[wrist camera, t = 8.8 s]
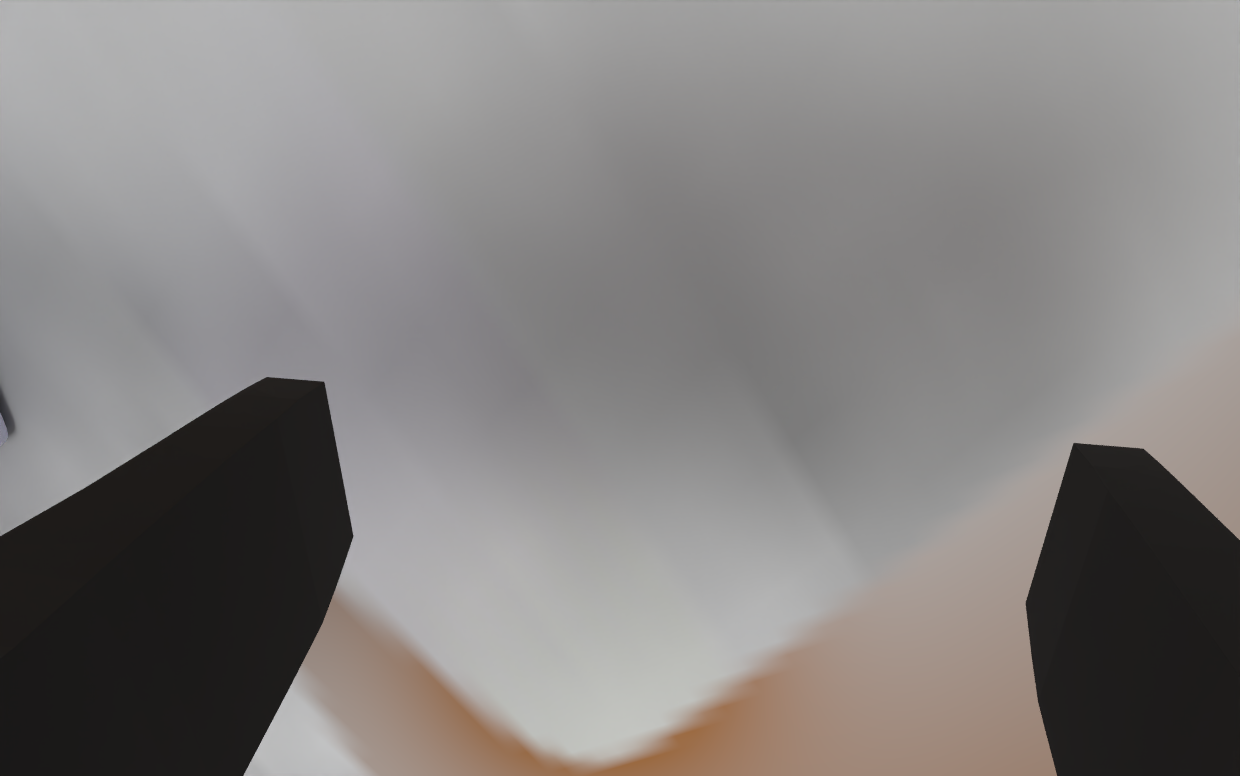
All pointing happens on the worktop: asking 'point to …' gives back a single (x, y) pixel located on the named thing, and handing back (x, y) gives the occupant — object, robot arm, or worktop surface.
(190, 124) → the worktop surface
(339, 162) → the worktop surface
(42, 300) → the worktop surface
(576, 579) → the worktop surface
